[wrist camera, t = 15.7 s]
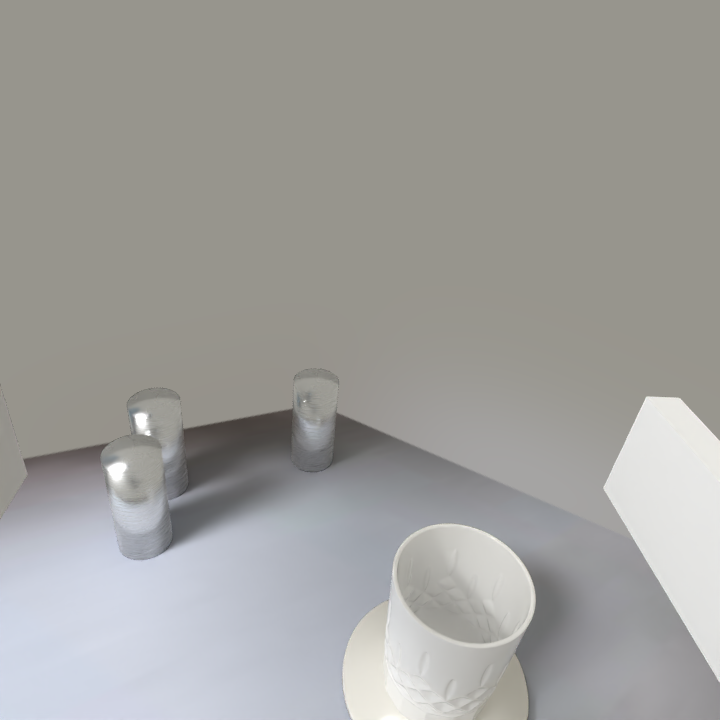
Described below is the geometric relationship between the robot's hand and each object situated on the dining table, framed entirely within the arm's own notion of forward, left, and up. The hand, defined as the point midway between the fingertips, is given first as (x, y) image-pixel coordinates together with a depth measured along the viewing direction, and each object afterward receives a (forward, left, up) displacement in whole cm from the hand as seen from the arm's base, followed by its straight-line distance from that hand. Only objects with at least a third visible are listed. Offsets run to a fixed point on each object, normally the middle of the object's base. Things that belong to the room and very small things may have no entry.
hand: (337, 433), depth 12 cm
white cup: (+4, +13, -28) cm, 31 cm away
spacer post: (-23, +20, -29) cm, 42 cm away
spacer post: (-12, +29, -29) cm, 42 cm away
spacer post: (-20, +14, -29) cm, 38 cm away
